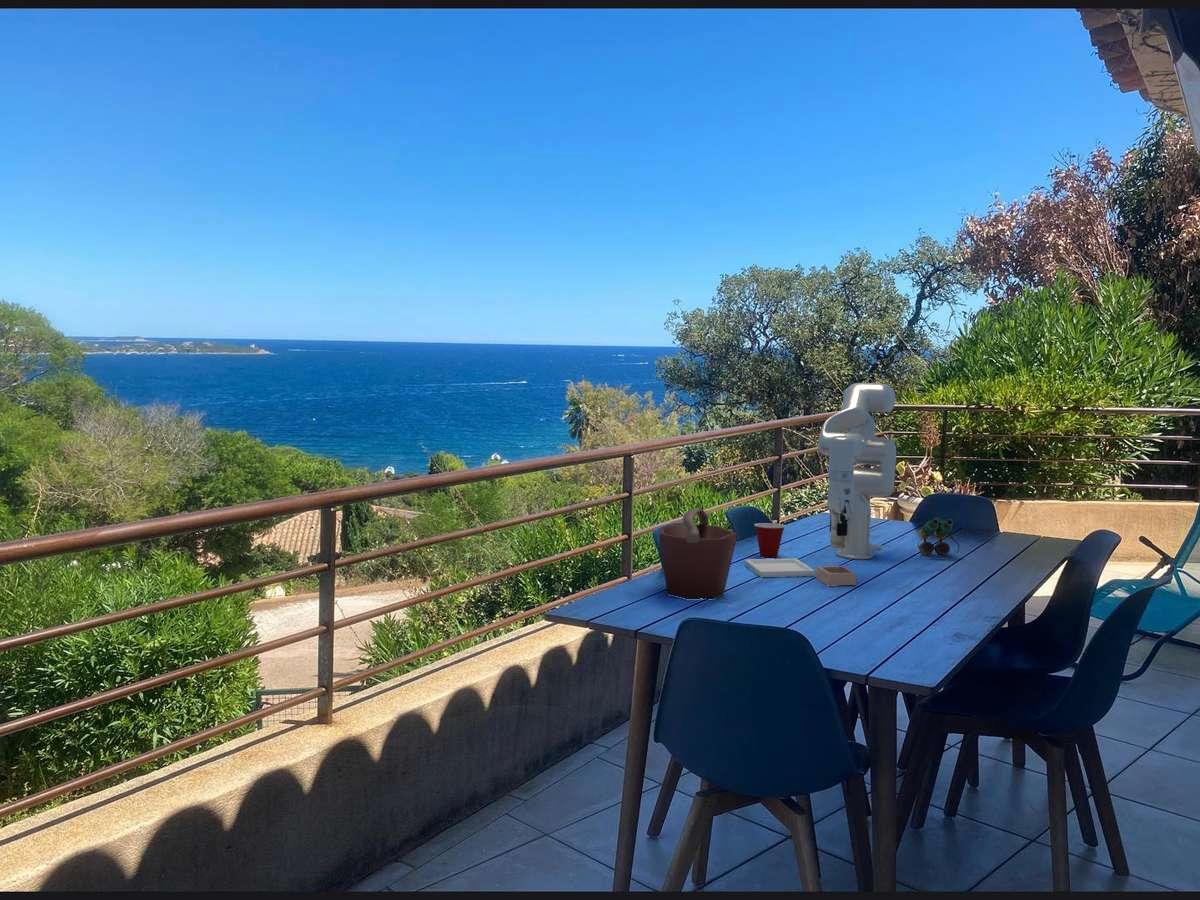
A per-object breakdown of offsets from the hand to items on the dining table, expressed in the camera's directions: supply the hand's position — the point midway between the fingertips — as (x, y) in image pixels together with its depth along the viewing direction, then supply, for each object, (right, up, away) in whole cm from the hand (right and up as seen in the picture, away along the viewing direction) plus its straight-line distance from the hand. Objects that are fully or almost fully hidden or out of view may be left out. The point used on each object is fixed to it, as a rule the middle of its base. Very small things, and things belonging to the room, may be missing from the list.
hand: (838, 533), depth 255 cm
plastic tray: (-15, -14, +14) cm, 25 cm away
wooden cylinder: (0, -4, +1) cm, 4 cm away
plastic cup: (-15, -12, +32) cm, 38 cm away
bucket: (-47, -17, -12) cm, 51 cm away
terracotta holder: (0, -16, +1) cm, 16 cm away
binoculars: (+46, -12, +38) cm, 61 cm away
